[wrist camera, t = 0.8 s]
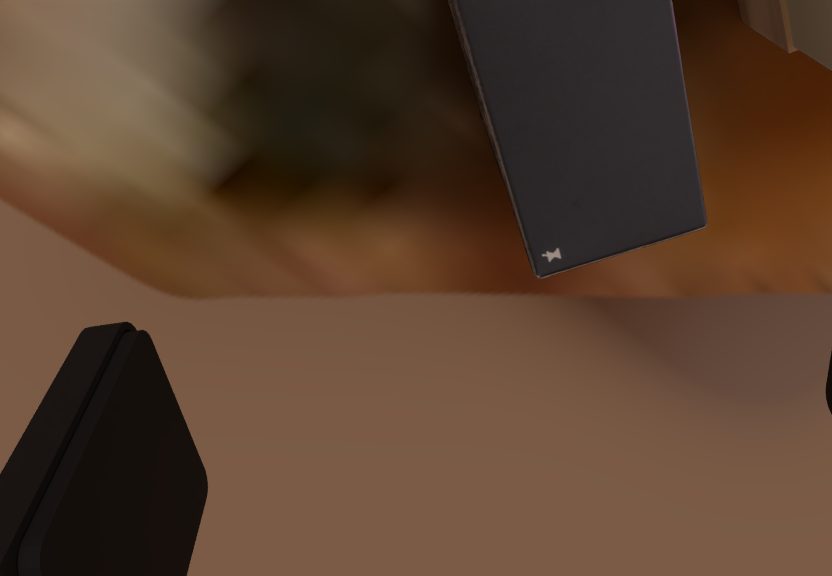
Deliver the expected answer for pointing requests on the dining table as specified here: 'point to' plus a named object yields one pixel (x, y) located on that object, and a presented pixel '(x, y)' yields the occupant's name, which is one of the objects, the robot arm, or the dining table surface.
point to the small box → (585, 123)
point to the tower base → (768, 21)
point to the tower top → (812, 28)
